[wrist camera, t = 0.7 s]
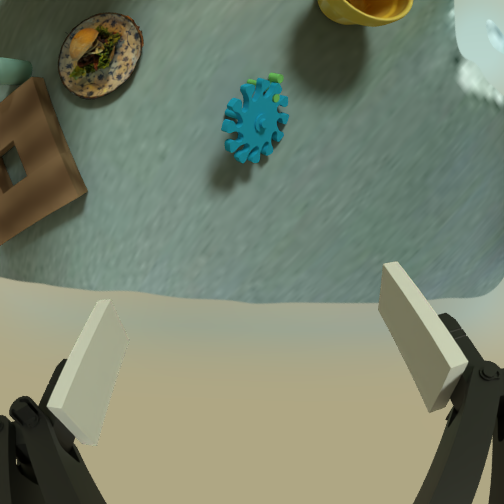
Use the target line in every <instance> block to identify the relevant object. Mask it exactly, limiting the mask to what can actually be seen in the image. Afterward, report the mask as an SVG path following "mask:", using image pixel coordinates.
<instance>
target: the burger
mask: <svg viewBox="0 0 504 504" xmlns="http://www.w3.org/2000/svg"><path fill="white" fill-rule="evenodd" d="M139 28H140V26H139V27H138V26H137V25H136V24H135V22H134V20H133V19H131V18H130V17H128V16H125V15H122V14H118V13H110V12H109V13H100V14H96V15H94V16H92V17H90V18H88V19H86V20H84V21H82V22H81V23H80V24H79V25H77V26H76V27H75V28H73V29H72V31H71V32H70V34H68V33H67V34H68V36H67V37H66V39H65V41H64V43H63V45H62V47H61V51H60V54H59V60H58V71H59V75H60V78H61V81H62V83H63V84H64V86H65V87H66V88H67V89H68V90H69V91H70V92H71V93H72V94H74V95H76V96H79V97H80V98H84V99H96V98H98V97H101V96H104V95H107V94H109V93H111V92H113V91H114V90H116V89H117V88H118V87H119V86H120V85H122V84H123V83H124V82H125V81H126V80H127V79H128V78H129V77H130V76H131V75H132V73H133V71H134V68H135V66H136V64H137V61H138V59H139V57H140V55H141V50H142V47H143V46H144V42H143V36H142V31H140V30H139ZM65 33H66V32H65Z"/></svg>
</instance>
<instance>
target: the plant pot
mask: <svg viewBox="0 0 504 504" xmlns="http://www.w3.org/2000/svg"><path fill="white" fill-rule="evenodd" d="M318 4H319V7H320V9H321V11H322V12H323V13H324V14H325V15H326V16H327V17H328V18H329V19H331V20H332V21H334V22H337V23H339V24H344V25H352V24H359V25H363V26H371V27H376V26H382V25H386V24H389V23H392V22H395V21H397V20H399V19H401V18H403V17H404V16H405V15H407V13H408V12H409V11H410V9H411V7H412V4H413V0H318Z"/></svg>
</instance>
